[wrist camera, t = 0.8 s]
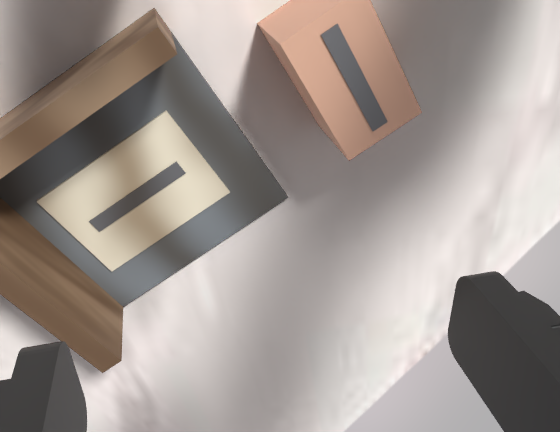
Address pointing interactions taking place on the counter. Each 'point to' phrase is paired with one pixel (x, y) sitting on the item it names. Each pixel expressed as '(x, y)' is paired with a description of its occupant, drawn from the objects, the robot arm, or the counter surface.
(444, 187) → the counter surface
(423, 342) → the counter surface
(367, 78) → the terracotta block
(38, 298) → the arena
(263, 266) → the counter surface
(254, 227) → the counter surface
